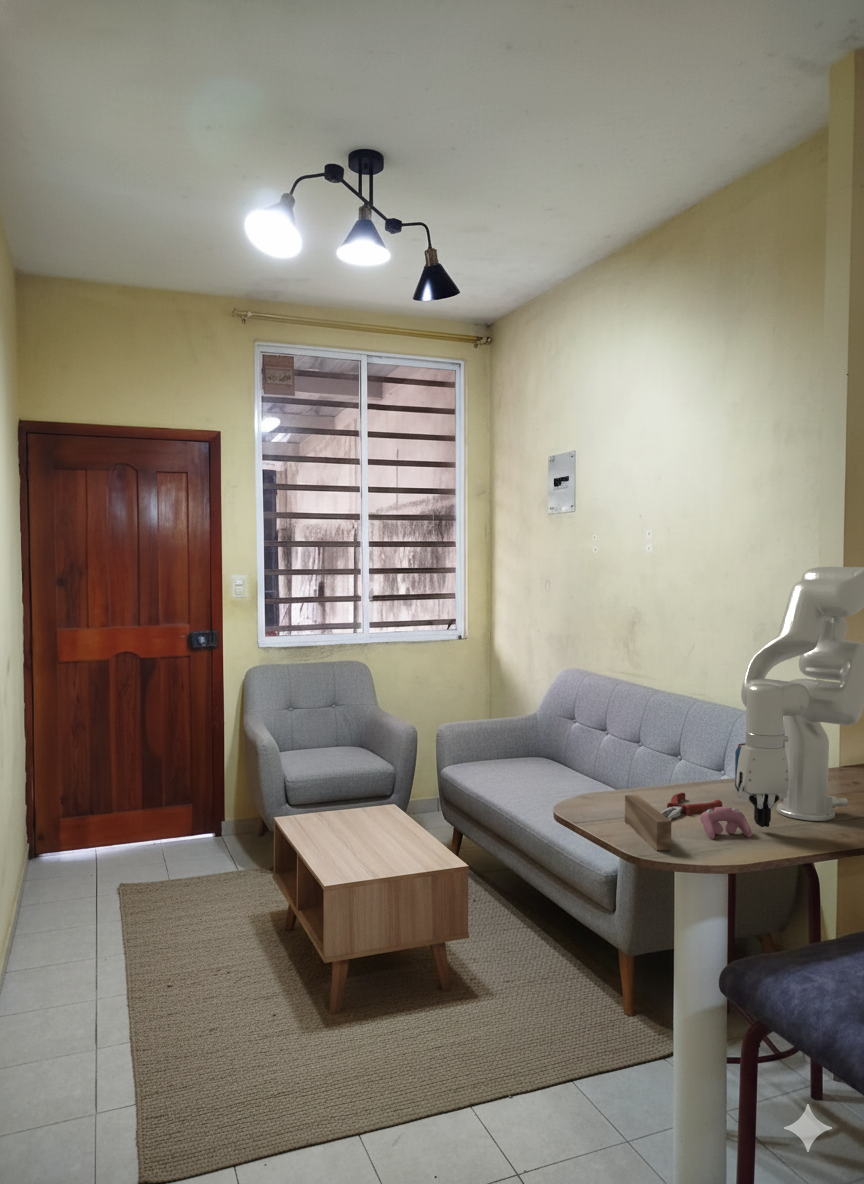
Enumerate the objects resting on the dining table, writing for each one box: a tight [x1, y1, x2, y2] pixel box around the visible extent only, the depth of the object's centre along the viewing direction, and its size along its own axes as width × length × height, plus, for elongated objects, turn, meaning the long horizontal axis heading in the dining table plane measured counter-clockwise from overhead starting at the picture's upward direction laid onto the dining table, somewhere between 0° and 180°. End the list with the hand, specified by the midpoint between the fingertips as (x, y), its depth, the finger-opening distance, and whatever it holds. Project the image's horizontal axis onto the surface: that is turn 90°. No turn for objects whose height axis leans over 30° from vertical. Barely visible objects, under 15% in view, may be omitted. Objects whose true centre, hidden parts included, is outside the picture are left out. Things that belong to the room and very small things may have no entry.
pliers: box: [660, 792, 723, 820], centre depth 202 cm, size 12×20×3 cm, turn 137°
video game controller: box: [700, 806, 752, 840], centre depth 184 cm, size 10×5×7 cm, turn 99°
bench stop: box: [624, 794, 672, 852], centre depth 183 cm, size 3×20×6 cm, turn 6°
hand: (762, 825), depth 186 cm, fingers closed
